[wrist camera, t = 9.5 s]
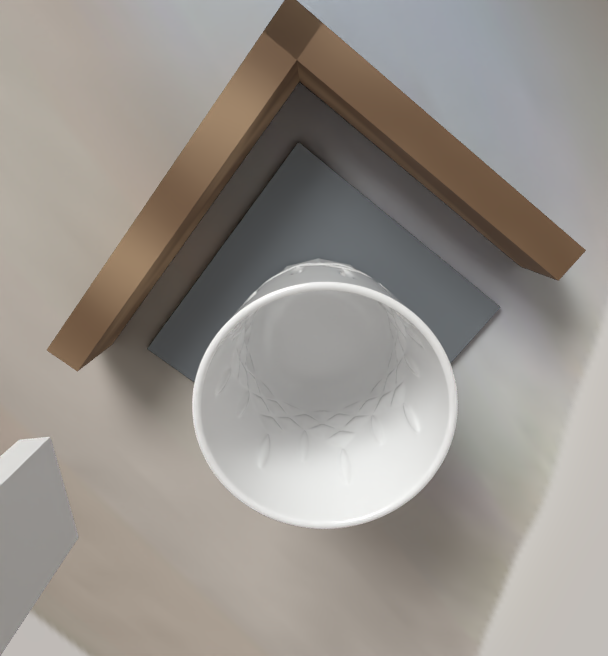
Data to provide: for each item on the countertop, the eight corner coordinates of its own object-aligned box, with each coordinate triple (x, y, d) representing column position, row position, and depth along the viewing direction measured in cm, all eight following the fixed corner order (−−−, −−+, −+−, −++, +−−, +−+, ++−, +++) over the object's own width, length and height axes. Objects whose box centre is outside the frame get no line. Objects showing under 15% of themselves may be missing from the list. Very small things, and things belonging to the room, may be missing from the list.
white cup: (358, 429, 27) (384, 565, 17) (212, 367, 26) (153, 472, 16) (431, 288, 25) (507, 351, 15) (276, 217, 24) (253, 236, 15)
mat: (298, 142, 24) (298, 142, 23) (498, 305, 25) (500, 307, 25) (149, 346, 26) (147, 348, 26) (340, 482, 28) (340, 486, 28)
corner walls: (293, 27, 22) (289, -7, 19) (542, 240, 25) (585, 250, 21) (86, 325, 26) (46, 350, 22) (320, 491, 28) (322, 539, 24)
